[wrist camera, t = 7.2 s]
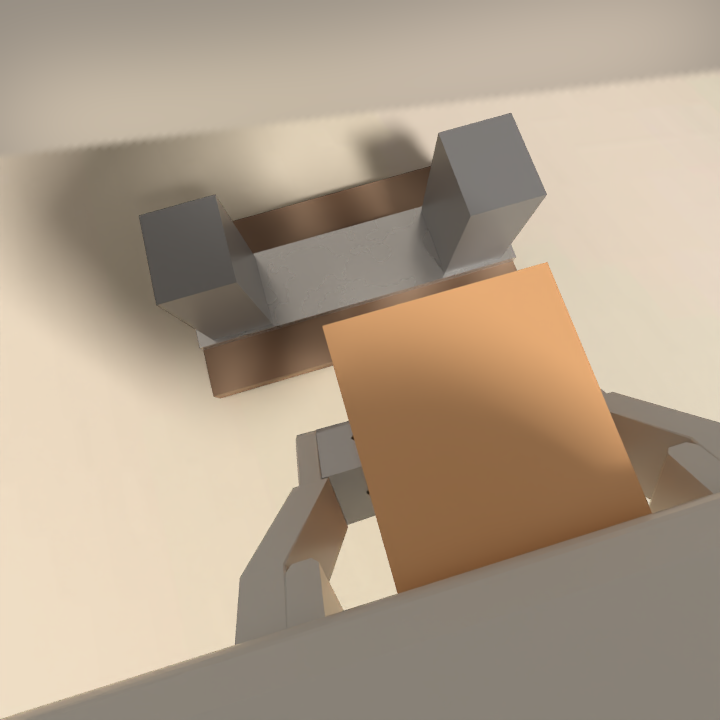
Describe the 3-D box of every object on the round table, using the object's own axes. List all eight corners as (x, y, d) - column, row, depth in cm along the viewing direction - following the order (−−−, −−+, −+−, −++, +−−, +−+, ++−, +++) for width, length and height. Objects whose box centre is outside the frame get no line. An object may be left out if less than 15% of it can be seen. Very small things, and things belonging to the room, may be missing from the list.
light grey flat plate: (203, 350, 26) (199, 348, 26) (187, 276, 27) (183, 273, 27) (512, 261, 27) (516, 257, 26) (485, 192, 28) (488, 187, 27)
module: (384, 520, 14) (414, 650, 6) (347, 390, 15) (322, 325, 6) (486, 488, 15) (674, 566, 6) (443, 362, 15) (547, 261, 7)
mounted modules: (213, 340, 26) (156, 305, 19) (198, 272, 27) (139, 215, 20) (500, 257, 26) (546, 194, 19) (475, 194, 27) (511, 112, 20)
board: (220, 398, 27) (213, 396, 26) (186, 244, 29) (178, 236, 28) (523, 309, 27) (530, 304, 26) (466, 166, 30) (470, 155, 29)
